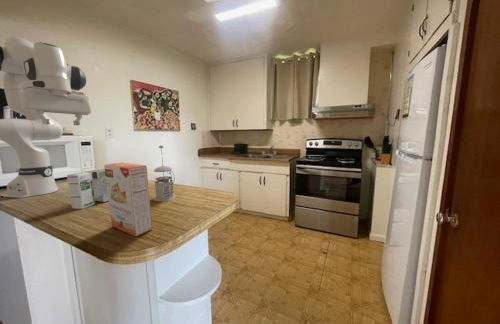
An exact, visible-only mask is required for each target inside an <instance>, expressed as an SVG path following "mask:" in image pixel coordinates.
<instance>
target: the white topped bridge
mask: <svg viewBox="0 0 500 324" xmlns="http://www.w3.org/2000/svg"><path fill="white" fill-rule="evenodd" d="M83 172H90V173H91V177H92V179H95V178H93V172H97V178H105V179H106V175H105V167H104V168H98V169H91V170H84V171H83Z"/></svg>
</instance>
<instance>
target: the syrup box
mask: <svg viewBox="0 0 500 324" xmlns="http://www.w3.org/2000/svg"><path fill="white" fill-rule="evenodd" d="M66 179H67V185H68V190H69V196H70V197H69V198H70V203H71V208H72V209H75V210H76V209H78V210H85V208H88V207H92V206H95V205H96V201H95V198H94V191H93V184H92V177H91V173H90V172H84V171H83V172H82V171H81V172H76V173H70V174H67V175H66Z"/></svg>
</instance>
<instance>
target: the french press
mask: <svg viewBox="0 0 500 324" xmlns="http://www.w3.org/2000/svg"><path fill="white" fill-rule="evenodd" d="M158 148H159V149H160V151H161V154H163V148H164V145H159V146H158ZM161 161H162V162H161V164H162V165H161V166H158V167H156V168H155V169H154V170H153V172H154V173H162V175H163V176H159V177H156V178H155V181H154V186H155V187H154V189H155V197H154V198H155V199H153V200H154V201H156V202H167V200H168V201H171V199H172V200H174V199H175V197H176V198H177V196H176V195H175V194H174V184H175V179H176V178H175V176H173V175H175V173H174V172H173V168H172V167H170V166H167V165H164V160H163V158H161ZM165 172H166V173H167V174H168V175H170V176H165V174H164V173H165ZM172 174H173V175H172ZM172 176H173V177H172ZM173 198H174V199H173Z"/></svg>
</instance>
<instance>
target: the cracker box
mask: <svg viewBox="0 0 500 324" xmlns="http://www.w3.org/2000/svg"><path fill="white" fill-rule="evenodd" d="M104 168H105V175H106V183H107V191H108V199H109V201H108V206H109V213H110V221H111V222H110V223H111V227H113V228H115V229H117V230H120V231H121V232H124V233H126V234H128V235H131V236H133V237H135V238H136V237H138V236H140V235H143V234H145V233H147V232H150V231H151V230H153V221H152V212H151V211H152V210H151V201H150V191H149V189H150V188H149V180H148V169H147V165H143V164H135V163H129V162H128V163H127V162H117V163H116V162H115V163H108V164H104Z"/></svg>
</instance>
